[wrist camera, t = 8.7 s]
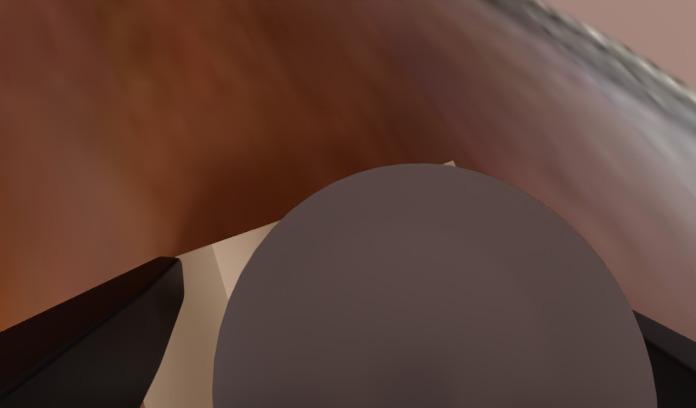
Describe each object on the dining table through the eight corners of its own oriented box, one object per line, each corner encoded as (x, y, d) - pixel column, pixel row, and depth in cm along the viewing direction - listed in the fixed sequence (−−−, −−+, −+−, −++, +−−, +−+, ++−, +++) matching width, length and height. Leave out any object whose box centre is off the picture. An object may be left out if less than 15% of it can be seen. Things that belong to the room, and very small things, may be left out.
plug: (314, 438, 15) (304, 785, 3) (279, 329, 16) (162, 237, 4) (414, 392, 16) (750, 505, 4) (373, 292, 17) (519, 118, 5)
